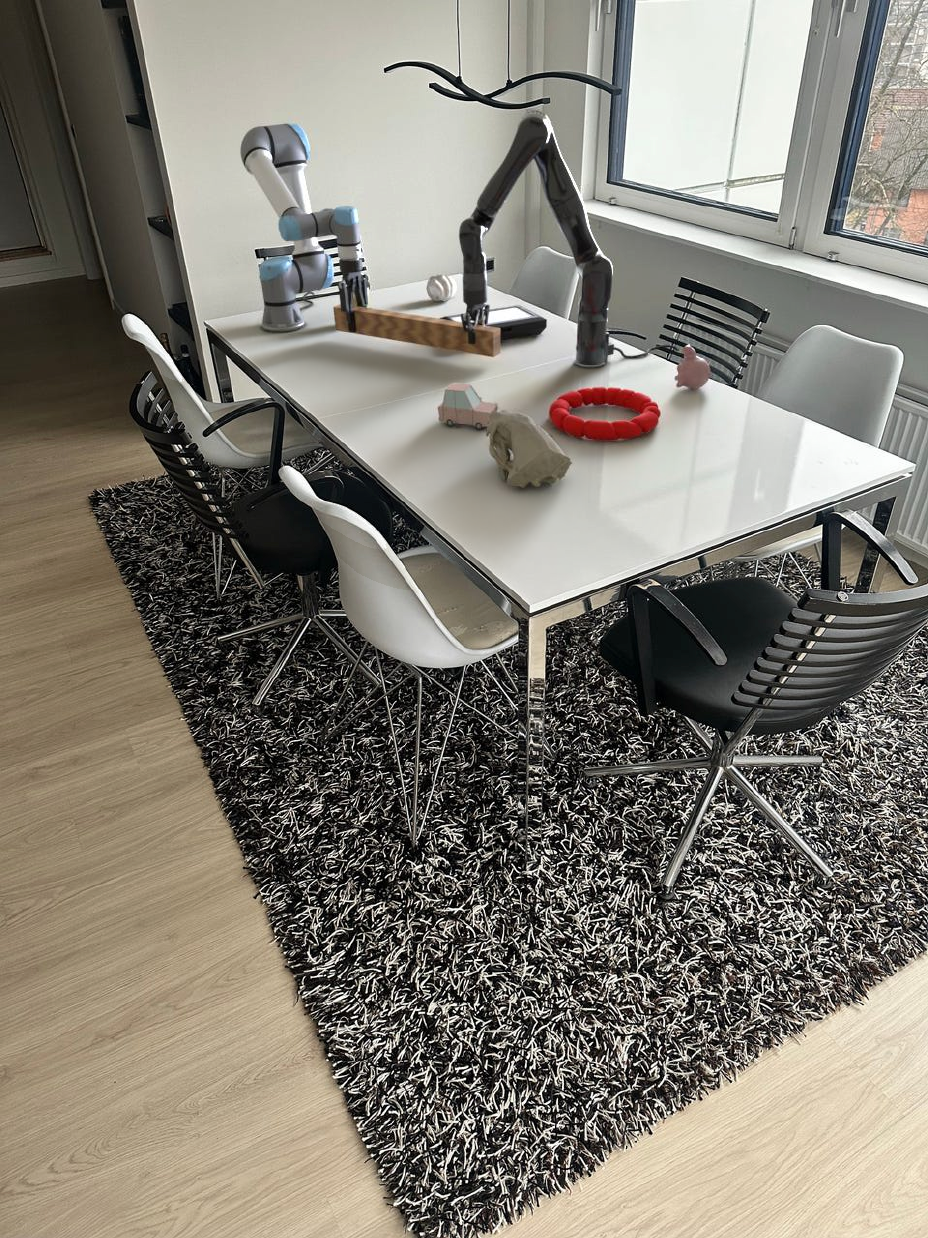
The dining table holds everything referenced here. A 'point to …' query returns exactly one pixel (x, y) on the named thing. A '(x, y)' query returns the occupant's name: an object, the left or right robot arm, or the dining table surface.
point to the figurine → (692, 370)
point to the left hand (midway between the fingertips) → (357, 329)
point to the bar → (420, 330)
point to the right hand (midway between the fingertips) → (476, 341)
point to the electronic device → (512, 322)
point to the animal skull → (525, 450)
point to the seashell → (441, 287)
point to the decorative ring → (604, 428)
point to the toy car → (465, 406)
